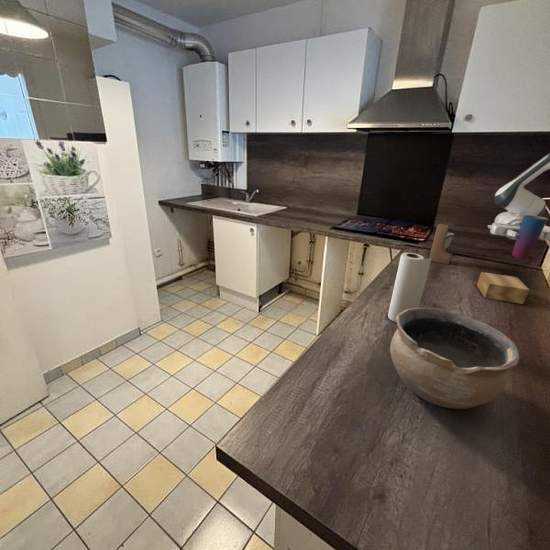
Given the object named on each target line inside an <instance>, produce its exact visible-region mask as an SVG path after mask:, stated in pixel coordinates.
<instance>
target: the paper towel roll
mask: <svg viewBox="0 0 550 550" xmlns="http://www.w3.org/2000/svg"><path fill="white" fill-rule="evenodd" d="M431 259H432V258H429V257H426V258H425V257H424V256H423V255H421V254H419V253H414V252H402V253H401V254H400V257H399V263H398V266H397V272H396V277H395V281H394V286H393V290H392V296H391V299H390V304H389V308H388V313H387V317H388V319H389V320H390V321H392V322H394V323H397V322H396V317H397V315H398V314H399V313H401V312H403V311H405V310H407V309H413V308H420V305H421V300H422V296H423V292H424V289H425V285H426V281H427V278H428V275H429V269H430V266H431V262H432V261H431Z"/></svg>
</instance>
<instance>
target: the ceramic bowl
mask: <svg viewBox="0 0 550 550" xmlns="http://www.w3.org/2000/svg"><path fill="white" fill-rule="evenodd" d="M395 323H396V326H397V329H396V330H395V332H394V334H393V335H392V338H391V341H390V347H389V348H390V349H389V353H390V356H391V361H392V364H393V366H394V368H395V370H396V372H397V373H398V375H399V377H400V379H401V380H402V382H403V383H404V385H405V386H406V387H407V388H408V389H409V390H410V391H411V392H412V393H414V394H415V395H417V396H418V397H419V398H421V399H423V400H425V401H426V402H428V403H431V404H433V405H436V406H438V407H442V408H446V409H452V410H453V409H454V410H466V409H467V410H468V409H471V408H475V407H476V408H477V407H479V406H483V405H485V404H487V403H489V402H491V401H494V399H496V398H498V397H499V396H500V395H501V394H502V393H503V391H504V389H505V388H506V386H507V383H508V381H509V375H510V370H511V369H513V368H514V367H516V366H517V365H518V364H519V360H520V353H519V350H518V347H517V346H516V344H515V343H514V341H513V340H512V339H510V337H508V336H507V335H505V334H504V333H503V332H502V331H499V330H498V329H497V328H495V327H492V326H490V325H489V324H487V323H484V322H482V321H479V320H477V319H474V318H472V317H469V316H467V315H462V314H459V313H455V312H451V311H450V310H449V311H448V310H446V309H445V310H444V309H441V308H428V307H427V308H426V307H419V308H413V309H407V310H405V311H403V312H401V313H399V314H398V315H397V317H396V322H395Z"/></svg>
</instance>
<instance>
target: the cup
mask: <svg viewBox="0 0 550 550" xmlns="http://www.w3.org/2000/svg"><path fill="white" fill-rule="evenodd" d="M548 220H549V219H548V217H545V216H541V217H540V216H532V215H524V216H523V219H522V223H521V226H520V229H519V233H520V235H519V238H517V239H516V240H515V242H514V243H515V244H514V246H513V249H512V253H511V256H513V257H515V258H517V259H525V260H526V259H529V258H530V256H531V254H532V252H533V250H534V247H535V246H536V244H537V242H538V241H539V240H538V238H539V236H540V234H541V232H542V230H543V228H544V226H546V225H545V224H547V223H548Z"/></svg>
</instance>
